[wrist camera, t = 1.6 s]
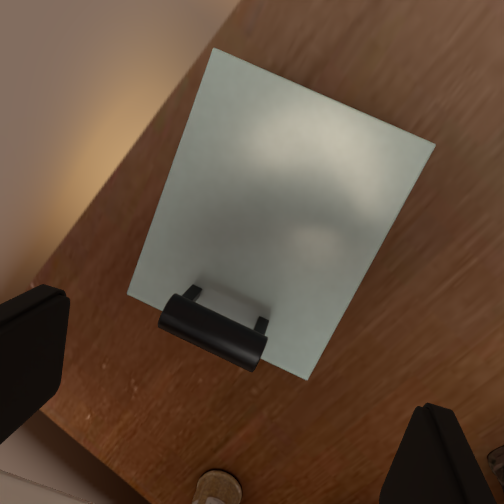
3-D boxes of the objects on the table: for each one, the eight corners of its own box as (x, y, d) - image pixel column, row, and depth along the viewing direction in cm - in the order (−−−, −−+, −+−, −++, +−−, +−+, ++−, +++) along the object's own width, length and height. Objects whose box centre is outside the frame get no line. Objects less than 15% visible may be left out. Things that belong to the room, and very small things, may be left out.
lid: (307, 374, 26) (302, 430, 21) (131, 290, 27) (85, 324, 22) (433, 144, 22) (465, 144, 17) (216, 50, 22) (183, 21, 17)
